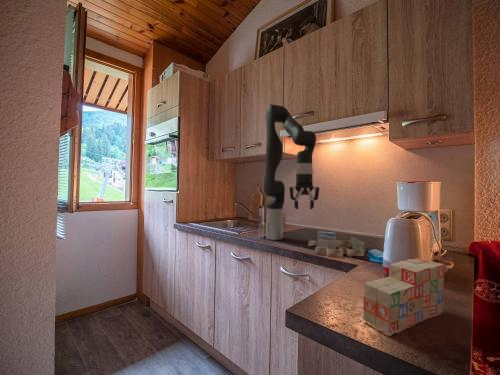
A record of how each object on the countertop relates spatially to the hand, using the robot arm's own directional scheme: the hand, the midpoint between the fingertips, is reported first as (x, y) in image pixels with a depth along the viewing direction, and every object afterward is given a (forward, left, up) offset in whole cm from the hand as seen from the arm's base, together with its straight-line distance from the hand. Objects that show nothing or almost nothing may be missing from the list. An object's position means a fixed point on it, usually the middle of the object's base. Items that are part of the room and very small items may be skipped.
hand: (304, 208), depth 115 cm
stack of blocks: (+11, -58, -20) cm, 62 cm away
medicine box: (+11, 0, -20) cm, 23 cm away
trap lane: (+15, -2, -20) cm, 25 cm away
